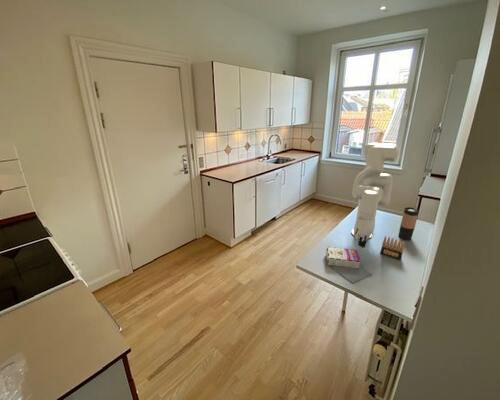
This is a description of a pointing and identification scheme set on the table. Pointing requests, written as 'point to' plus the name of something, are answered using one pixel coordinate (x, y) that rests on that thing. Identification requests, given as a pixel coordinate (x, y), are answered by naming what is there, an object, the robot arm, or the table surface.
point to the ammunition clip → (392, 249)
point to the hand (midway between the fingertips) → (361, 246)
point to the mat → (352, 273)
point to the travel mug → (408, 223)
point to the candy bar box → (342, 257)
